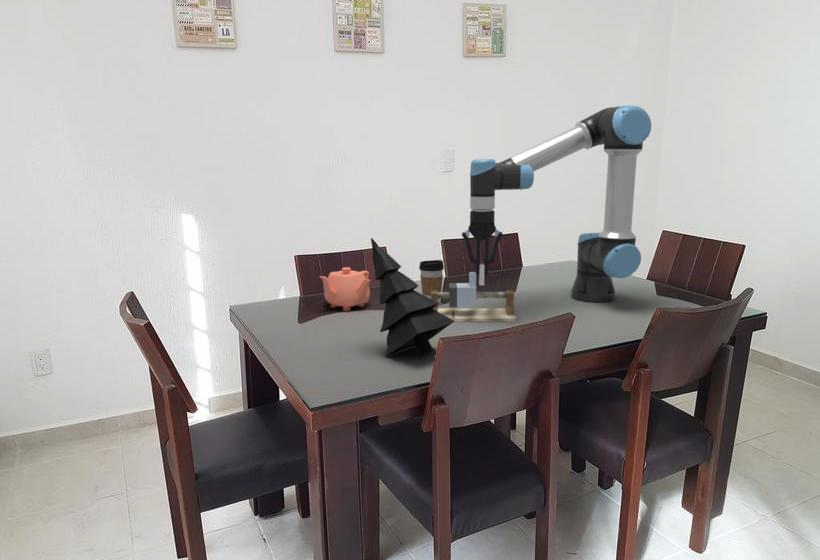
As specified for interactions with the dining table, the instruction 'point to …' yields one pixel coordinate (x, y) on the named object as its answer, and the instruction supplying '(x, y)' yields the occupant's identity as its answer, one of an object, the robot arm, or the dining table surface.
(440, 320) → the decorative tree
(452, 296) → the collar
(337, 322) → the dining table surface
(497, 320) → the pipe rig
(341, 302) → the teapot
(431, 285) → the coffee cup
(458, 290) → the blue-grey block with post
